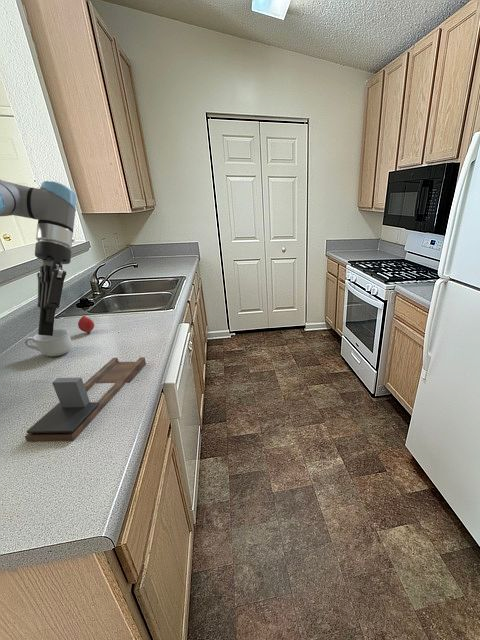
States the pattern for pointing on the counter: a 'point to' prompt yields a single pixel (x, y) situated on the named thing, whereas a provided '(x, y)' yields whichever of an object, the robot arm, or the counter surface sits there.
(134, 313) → the counter surface
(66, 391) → the lid
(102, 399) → the long wooden tray frame
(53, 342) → the teacup
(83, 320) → the onion
